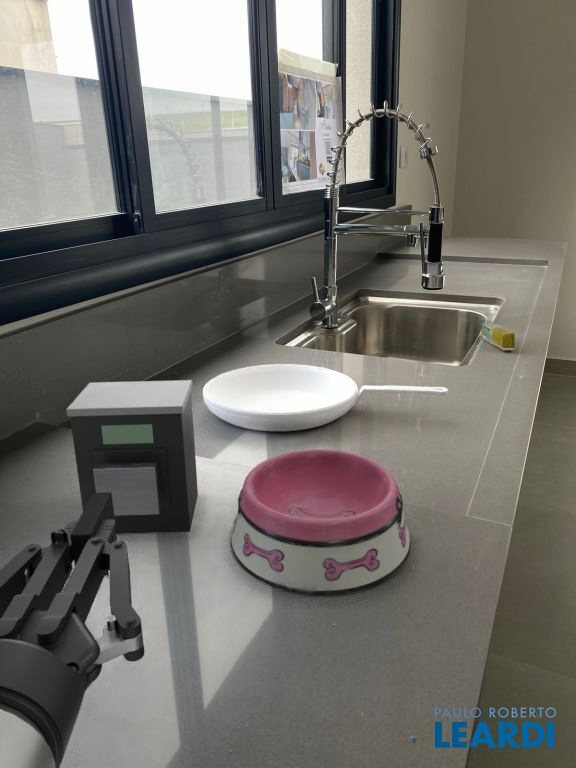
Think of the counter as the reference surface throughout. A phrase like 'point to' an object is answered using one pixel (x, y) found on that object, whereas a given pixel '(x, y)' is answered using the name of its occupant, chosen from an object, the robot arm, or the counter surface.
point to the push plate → (130, 487)
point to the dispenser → (139, 445)
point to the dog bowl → (320, 523)
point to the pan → (288, 396)
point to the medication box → (498, 335)
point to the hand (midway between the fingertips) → (104, 506)
